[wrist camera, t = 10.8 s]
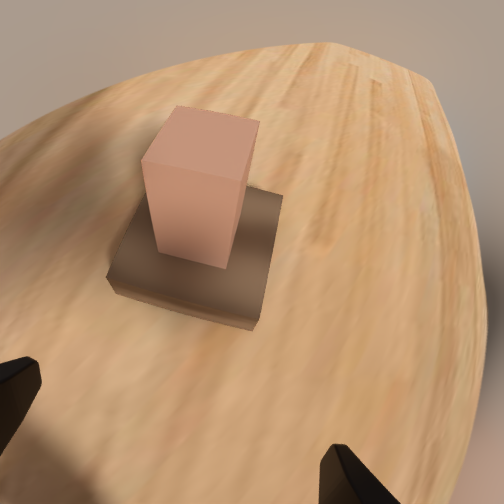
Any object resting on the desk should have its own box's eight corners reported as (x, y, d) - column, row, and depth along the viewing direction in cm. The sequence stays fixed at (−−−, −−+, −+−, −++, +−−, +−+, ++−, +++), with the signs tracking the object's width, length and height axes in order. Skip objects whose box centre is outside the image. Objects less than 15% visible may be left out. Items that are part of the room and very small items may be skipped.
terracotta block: (226, 269, 22) (241, 181, 14) (158, 252, 22) (140, 160, 14) (240, 213, 24) (259, 121, 17) (179, 199, 24) (176, 105, 16)
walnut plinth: (252, 331, 23) (259, 319, 20) (115, 293, 23) (106, 277, 20) (275, 216, 28) (283, 195, 26) (162, 189, 28) (159, 166, 26)
